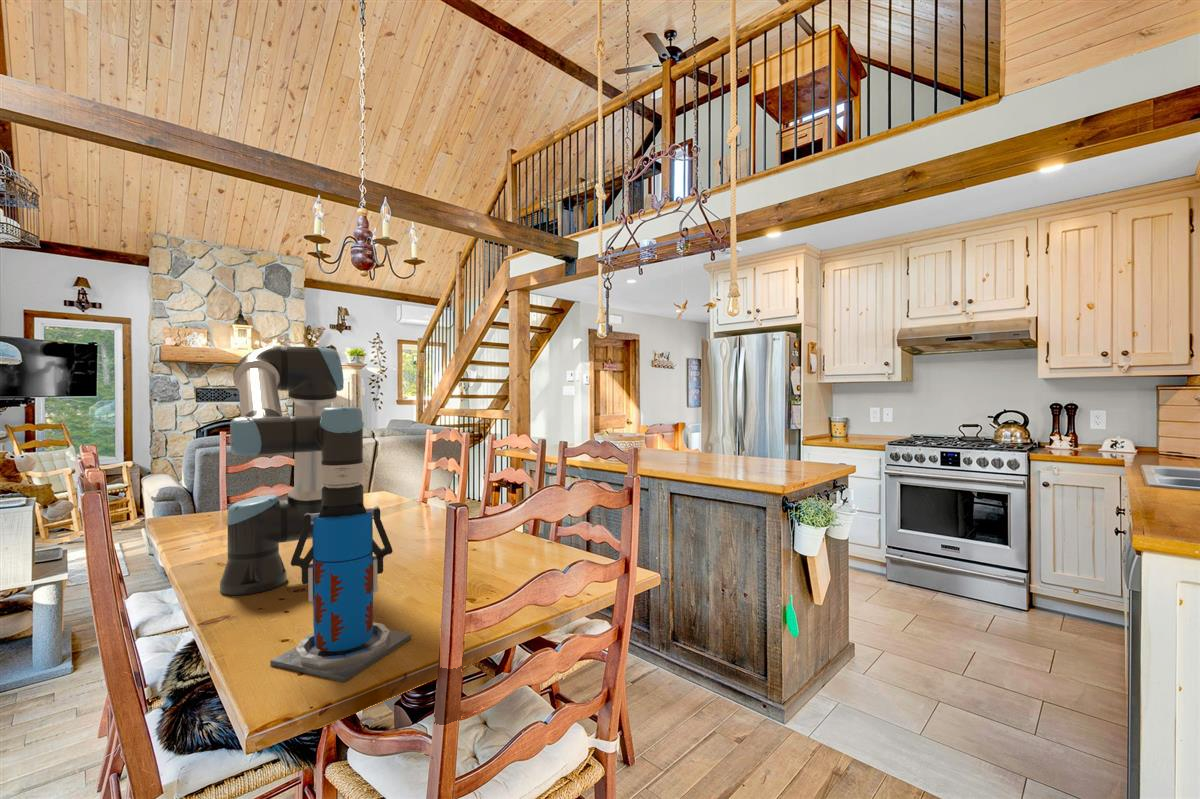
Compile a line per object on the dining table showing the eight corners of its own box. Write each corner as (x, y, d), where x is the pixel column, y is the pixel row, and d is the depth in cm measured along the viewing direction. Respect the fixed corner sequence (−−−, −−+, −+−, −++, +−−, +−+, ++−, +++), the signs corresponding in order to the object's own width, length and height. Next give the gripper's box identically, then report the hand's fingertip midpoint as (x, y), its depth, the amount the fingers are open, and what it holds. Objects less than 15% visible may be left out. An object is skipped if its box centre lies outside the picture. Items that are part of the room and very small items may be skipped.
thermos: (357, 622, 116) (356, 506, 115) (383, 637, 109) (382, 513, 108) (304, 640, 107) (302, 515, 107) (328, 657, 100) (327, 523, 100)
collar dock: (270, 665, 103) (270, 652, 102) (344, 626, 119) (344, 615, 119) (344, 682, 96) (344, 668, 96) (411, 638, 113) (411, 626, 113)
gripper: (272, 492, 99) (273, 611, 99) (406, 482, 109) (407, 591, 109) (276, 486, 106) (278, 597, 106) (402, 477, 116) (403, 579, 116)
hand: (343, 594), depth 108 cm, fingers closed on thermos, 11 cm apart
